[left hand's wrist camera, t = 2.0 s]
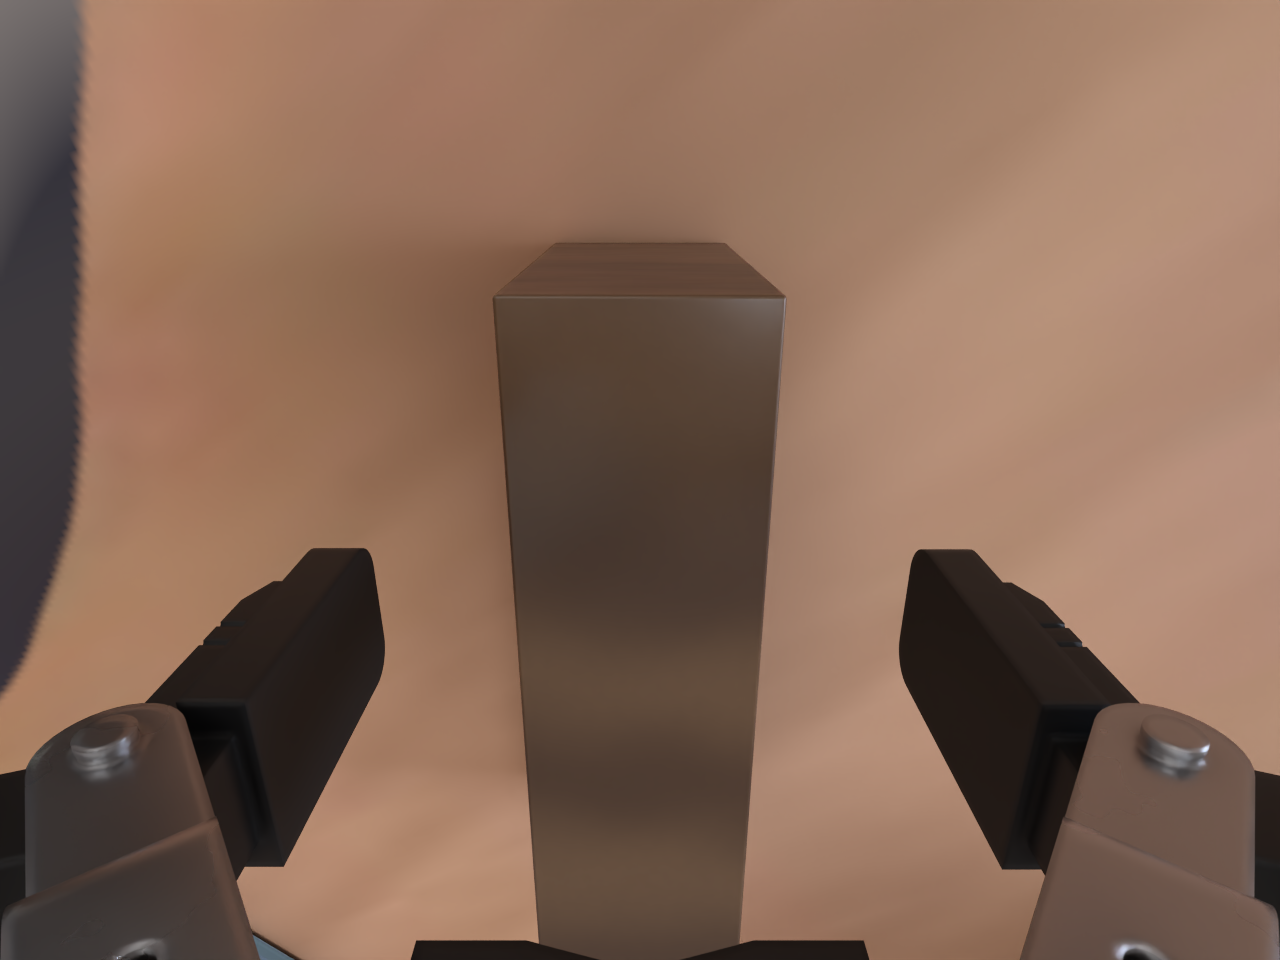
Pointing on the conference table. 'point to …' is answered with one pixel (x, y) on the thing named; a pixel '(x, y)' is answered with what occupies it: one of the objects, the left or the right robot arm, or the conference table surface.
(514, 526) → the box
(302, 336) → the conference table surface
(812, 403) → the conference table surface
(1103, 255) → the conference table surface
